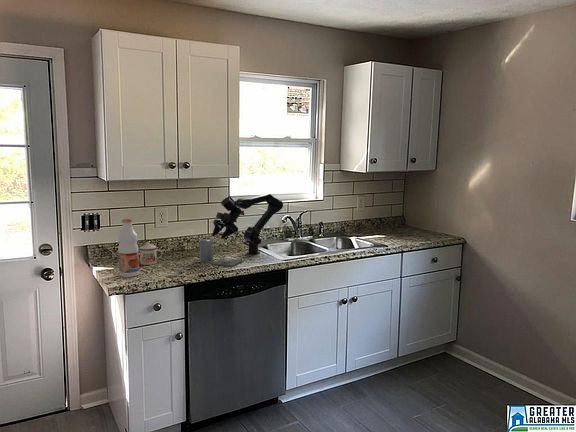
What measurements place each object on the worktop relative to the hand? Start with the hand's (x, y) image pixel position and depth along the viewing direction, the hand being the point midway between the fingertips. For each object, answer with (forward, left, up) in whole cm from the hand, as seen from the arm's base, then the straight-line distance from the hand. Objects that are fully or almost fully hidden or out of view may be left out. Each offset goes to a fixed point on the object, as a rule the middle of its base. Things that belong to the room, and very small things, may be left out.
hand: (216, 237), depth 270 cm
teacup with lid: (+22, -28, -13) cm, 38 cm away
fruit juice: (+47, -22, -13) cm, 53 cm away
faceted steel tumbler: (+6, -3, -13) cm, 15 cm away
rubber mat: (+5, +10, -13) cm, 17 cm away
